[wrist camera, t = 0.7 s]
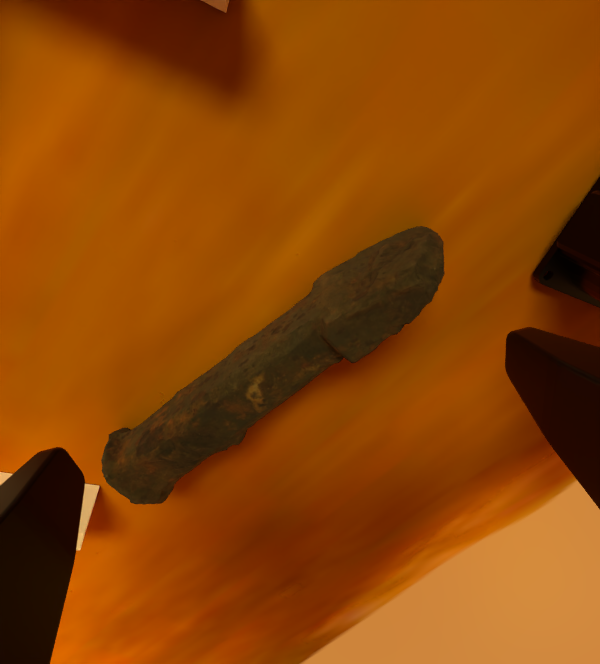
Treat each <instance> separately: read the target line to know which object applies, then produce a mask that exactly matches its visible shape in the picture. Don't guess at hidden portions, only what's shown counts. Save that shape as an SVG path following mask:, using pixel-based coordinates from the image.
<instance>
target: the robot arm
mask: <svg viewBox="0 0 600 664" xmlns="http://www.w3.org/2000/svg"><path fill="white" fill-rule="evenodd" d="M547 271H548V273H547V274H546V275H545V276H544V274H545V273H546V272H547ZM543 276H544V277H543ZM534 278H535V280H536V281H538V282H539V283H541V284H543V285H545V286H548V287H550V288H553V289H555V290H558V291H560V292H563V293H565V294H568V295H570V296H573V297H575V298H578V299H580V300H582V301H585V302H587V303H590V304H592V305H595V306H597V307H600V178H599V179H598V181H597V182H596V184H595V185H594V186H593V188H592V189H591V191H590V192H589V194H588V195H587V196H586V198H585V199H584V201H583V202H582V204H581V205H580V207H579V208H578V209H577V211H576V212H575V214H574V215H573V217H572V218H571V220H570V221H569V222H568V224H567V225H566V227H565V228H564V230H563V231H562V232H561V234H560V235H559V237H558V238H557V240H556V241H555V243H554V244H553V245H552V247H551V248H550V250H549V251H548V253H547V254H546V255H545V257H544V258H543V260H542V261H541V263H540V264H539V266H538V267H537V268H536V270H535V272H534ZM505 368H506V372H507V375H508V377H509V379H510V380H511V382H512V384H513V385H514V387H515V389H516V390H517V392H518V394H519V395H520V397H521V399H522V400H523V402H524V403H525V405H526V407H527V408H528V410H529V412H530V413H531V415H532V417H533V418H534V420H535V422H536V423H537V425H538V427H539V428H540V430H541V431H542V433H543V435H544V436H545V438H546V439H547V441H548V442H549V443H550V445H551V446H552V448H553V449H554V450H555V452H556V453H557V454H558V455H559V457H560V458H561V459H562V461H563V462H564V463H565V465H566V466H567V467H568V469H569V470H570V471H571V472H572V474H573V475H574V476H575V478H576V479H577V480H578V482H579V483H580V484H581V485H582V487H583V488H584V489H585V491H586V492H587V493H588V495H589V496H590V497H591V498H592V500H593V501H594V502H595V503H596V505H597V506H598V508H599V509H600V347H596V346H593V345H590V344H586V343H583V342H579V341H576V340H573V339H569V338H566V337H563V336H559V335H556V334H553V333H549V332H546V331H543V330H539V329H536V328H532V327H526V328H522V329H518V330H515V331H511V332H510V333H509V334H508V335H507V339H506V358H505ZM84 489H85V479H84V476H83V473H82V471H81V470H80V469H79V467H78V466H77V465H76V463H75V462H74V461H73V459H72V458H71V457H70V455H69V454H68V453H67V451H66V450H65V449H63V448H61V447H56V448H52V449H48V450H44V451H41V452H39V453H37V454H36V455H34V456H33V457H32V458H31V459H30V460H29V461H28V462H26V463H25V464H24V465H23V466H22V467H21V468H20V469H18V470H17V471H16V472H15V473H14V474H13V475H12V476H10V477H9V478H8V479H7V480H6V481H5V482H4V483H2V484H1V485H0V664H50V661H51V656H52V652H53V648H54V644H55V640H56V636H57V632H58V627H59V623H60V619H61V615H62V611H63V607H64V603H65V598H66V594H67V590H68V586H69V582H70V578H71V574H72V569H73V564H74V560H75V554H76V548H77V540H78V533H79V526H80V518H81V511H82V504H83V496H84Z"/></svg>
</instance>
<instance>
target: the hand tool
mask: <svg viewBox="0 0 600 664" xmlns="http://www.w3.org/2000/svg"><path fill="white" fill-rule="evenodd" d="M443 276H444V255H443V241H442V239H441V237H440V236H439V235H438V233H436V232H434V231H433V230H431V229H429V228H427V227H423V226H420V227H415V228H411V229H408V230H405V231H403V232H400V233H398V234H396V235H394V236H392V237H390V238H388V239H385V240H383V241H381V242H379V243H377V244H375V245H373V246H371V247H369V248H367V249H365V250H363V251H361V252H359V253H358V254H357V255H356V256H355V257H353V258H352V259H350V260H348V261H346V262H344V263H342V264H340V265H339V266H337V267H335V268H333V269H331V270H330V271H328V272H326V273H324V274H323V275H321V276H320V277H319V278H318V279H317V280H316V281H315V282H314V283H313V289H312V291H311V292H310V293H309V294H308V295H307V296H306V297H305V298H304V299H302V300H301V301H299V302H298V303H297V304H296V305H295V306H293V307H292V308H291V309H290V310H289V311H287V312H286V313H284V314H283V315H282V316H280V317H279V318H277V319H276V320H275V321H273V322H272V323H270V324H269V325H268V326H266V327H265V328H264V329H262V330H261V331H260V332H259V333H257V334H256V335H254V336H252V337H251V338H249V339H247V340H246V341H244V342H243V343H242V344H240V345H239V346H238V347H236V349H235V350H234V351H233V352H232V353H231V354H230V355H228V356H227V357H226V358H225V359H223V360H222V361H221V362H219V363H218V364H217V365H215V366H214V367H213V368H212V369H210V370H209V371H207V372H206V373H204V374H203V375H201V376H200V377H199V378H197V379H196V380H194V381H193V382H192V383H191V384H189V385H188V386H187V387H185V388H183V389H182V390H180V391H178V392H177V393H176V394H175V396H174V397H173V398H172V399H171V400H170V401H168V402H167V403H166V404H164V405H163V406H162V407H161V408H160V409H159V410H157V411H156V412H155V413H154V414H152V415H151V416H150V417H149V418H148V419H146V420H145V421H144V422H143V423H142V424H140V425H139V426H137V427H136V428H134V429H133V430H130V429H128V428H122V429H119V430H117V431H114V432H112V433H111V434H109V441H108V442H107V444H106V446H105V449H104V453H103V457H102V460H101V461H102V466H103V467H102V472H103V474H104V477H105V479H106V482H107V483H108V484H109V485H110V486H111V487H113V488H114V489H115V490H116V491H118V492H119V493H120V494H122V495H124V496H125V497H127V498H128V499H129V500H130V502H131V503H134V504H159V503H163V502H164V501H165V500H166V499H167V497H168V495H169V494H170V493H171V491H172V490H173V488H174V484H175V483H176V482H177V481H178V480H179V479H180V478H181V477H183V476H184V475H185V474H187V473H188V472H190V471H191V470H192V469H194V468H195V467H196V466H198V465H199V464H200V463H201V462H202V461H204V460H205V459H206V458H208V457H209V456H211V455H212V454H214V453H217V452H220V451H223V450H227V448H229V447H230V446H232V445H239V444H240V442H241V441H242V440H243V438H244V437H245V434H246V431H247V429H248V428H249V427H251V426H252V425H254V424H255V423H256V422H257V421H258V420H260V419H261V418H262V417H264V416H265V415H266V414H268V413H269V412H270V411H271V410H273V409H274V408H275V407H277V406H279V405H280V404H282V403H283V402H284V401H285V400H287V399H288V398H289V397H290V396H292V395H293V394H295V393H296V392H297V391H299V390H300V389H302V388H303V387H304V386H305V385H307V384H308V383H309V382H310V381H312V380H313V379H314V378H315V377H317V376H318V375H319V374H320V373H322V372H323V371H324V370H325V369H327V368H328V367H330V366H331V365H333V364H334V363H338V362H340V361H341V360H342V359H343V358H346V359H347V360H348V361H350V362H351V363H355V362H357V361H358V360H360V359H361V358H363V357H364V356H366V355H367V354H369V353H370V352H372V351H373V350H375V349H376V348H377V346H378V345H379V344H380V343H381V342H382V341H384V340H385V339H386V338H388V337H389V336H390V335H394V334H397V333H398V332H400V330H401V329H402V328H403V326H404V324H409V323H410V322H412V321H413V320H414V319H415V318H416V317H417V316H418V315H419V313H420V312H421V310H422V309H423V308H424V307H425V306H426V305H427V304H428V303H430V302H431V301H432V299H433V296H434V294H435V292H436V291H437V290H438V286H439V284H440V283H441V281H442V278H443Z"/></svg>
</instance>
